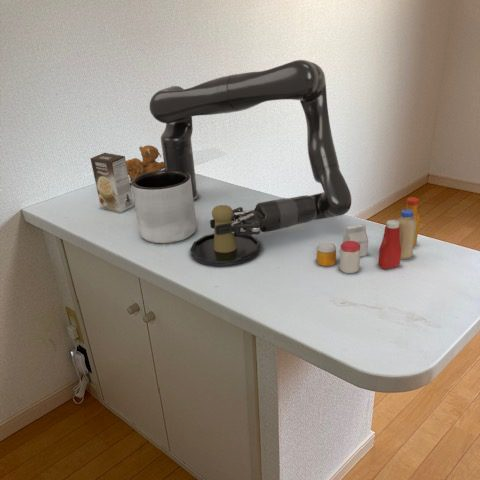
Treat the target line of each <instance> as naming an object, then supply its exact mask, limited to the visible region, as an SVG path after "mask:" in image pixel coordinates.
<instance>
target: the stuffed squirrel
mask: <svg viewBox="0 0 480 480" xmlns="http://www.w3.org/2000/svg"><path fill="white" fill-rule="evenodd" d="M138 149H139V151H140V155H141V157H142V160H140V159H139V158H137V157H133V158H131V159H127V160H126V166H127V172H128V177H129V182H130V183H131V182H132V180H133V179H134V178H136V177H137V176H140V175H142V174H145V173H149V172H153V171H160V170H163V169H165V166H164V161H161V162H159V161H157V159H158V158H159V157H160V158H162V154H161V153H160V152H159V149H158V148H157V147H155V146H154V145H150V144H147V145H144V146H139V147H138Z"/></svg>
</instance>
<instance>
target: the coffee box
mask: <svg viewBox="0 0 480 480" xmlns="http://www.w3.org/2000/svg"><path fill="white" fill-rule="evenodd" d="M126 161H127V160H126V156H125V155H121V154H116V153H115V154H114V153H109V152H102V153H101V154H98V155H95V156H92V157H90V163H91V168H92V172H93V173H92V174H93V178H94V182H95V186H96V192H97V195H98V200H99V205H100V208H101V209H102V210H103V209H104V210H107V211H111V212H112V211H113V212H116V213H123V212H124V211H127V210H129V209H130V208H133V207H134V199H133V193H132V188H131V186H130V183H131V182H130V177H129V175H128V172H127V166H126Z"/></svg>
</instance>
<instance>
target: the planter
mask: <svg viewBox="0 0 480 480" xmlns="http://www.w3.org/2000/svg"><path fill="white" fill-rule="evenodd" d="M130 183H131V186H130V187H131V193H132V198H133V204H134V208H135V215H136V222H137V227H138V231H139V234H140V237H141V238H142V239H144V240H146V241H148V242H150V243H155V244H172V243H173V244H174V243H177V242H180V241H181V242H182V241H185V240H186V239H188V238H189V237H191V236H192V235H193V234H194V233H195V232H196V231H197V229H198V223H197V216H196V207H195V200H193V192H192V184H191V176H190V175H189V174H188V173H186V172H183V171H179V170H163V169H162V170H159V171H153V172H149V173H145V174H142V175H140V176H137V177H136V178H134V179H133V180H132V182H131V181H130Z"/></svg>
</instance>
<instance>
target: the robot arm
mask: <svg viewBox="0 0 480 480" xmlns="http://www.w3.org/2000/svg"><path fill="white" fill-rule="evenodd" d="M326 82H327V81H326V75H325V72H324V70H323V68H322V67H321V66H320V65H318V64H317V63H315V62H312V61H309V60H306V59H297V60H292V61H290V62H287V63H284V64H281V65H278V66H275V67H273V68H269V69H265V70H260V71H259V70H258V71H247V72H241V73H235V74H230V75H223V76H219V77H217V78H213V79H211V80H207V81H204V82H202V83H199V84H197V85H194V86H191V87H188V88H183V87H181V86H180V85H172V86H168V87H166V88H163V89H159V90H157V91H156V92H155V93H154V94H153V95H152V96H151V98H150V101H149V112H150V114H151V116H152V117H153V119H155V120H156V121H158V122H160V123H162V124H165V128H164V130H163V132H162V134H161V136H160V145H161V149H162V150H161V152H162V158H163V162H164V166H165V168H164V169H162V170H179V171H183V172H186V173H188V174H189V175H190V176H191V184H192V192H193V200H194V201H196V200H197V199H198V197H199V194H198V189H197V179H196V170H195V162H194V161H195V160H194V153H193V144H192V135H193V132H194V131H193V129H194V127H193V117H199V116H211V115H212V116H213V115H220V114H221V115H223V114H231V113H237V112H241V111H247V110H249V109H251V108H254V107H256V106H258V105H260V104H262V103H265V102H272V101H282V100H283V101H285V100H293V101H299V103H300V105H301V107H302V110H303V112H304V117H305V123H306V136H307V137H306V139H307V140H306V141H307V142H306V143H307V146H306V147H307V156H308V160H309V164H310V168H311V172H312V176H313V179H314V181H315V182H316V183H318V184H320V185H321V187H322V190H323V192H320V193H315V194H311V195H308V194H307V195H298V196H293V197H287V198H286V197H284V198H277V199H272V200H266V201H262V202H258V203H257V204H256V205H255V207H254V209H253V210H251V209H247V210H244V209H243V207H242V206H239V207H237V208H234V209H232V211H233V216H232V219H231V220H232V223H230V224H229V223H227V224H222V225H217V226H215V220H214V219H213V218H212V219H210V220H209V226H210V228H211V229H212V230H213V229H214V231H215V233H216V234H217V235H220V234H225V233H230V232H231V233H236V235H253V236H255V235H260V234H261V232H262V233H268V232H272V231H273V232H274V231H277V230H282V229H287V228H290V227H293V226H297V225H301V224H306V223H309V222H312V221H318V220H323V219H330V218H336V217H341V216H344V215H346V214H347V213H348V212H349V211H350V209H351V207H352V195H351V191H350V188H349V186H348V183H347V182H346V180H345V177H344V175H343V174H342V172H341V169H340V165H339V160H338V156H337V151H336V148H335V143H334V138H333V134H332V129H331V123H330V115H329V107H328V96H327V95H328V94H327V83H326ZM129 183H130V187H132V186H131V182H129Z"/></svg>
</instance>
